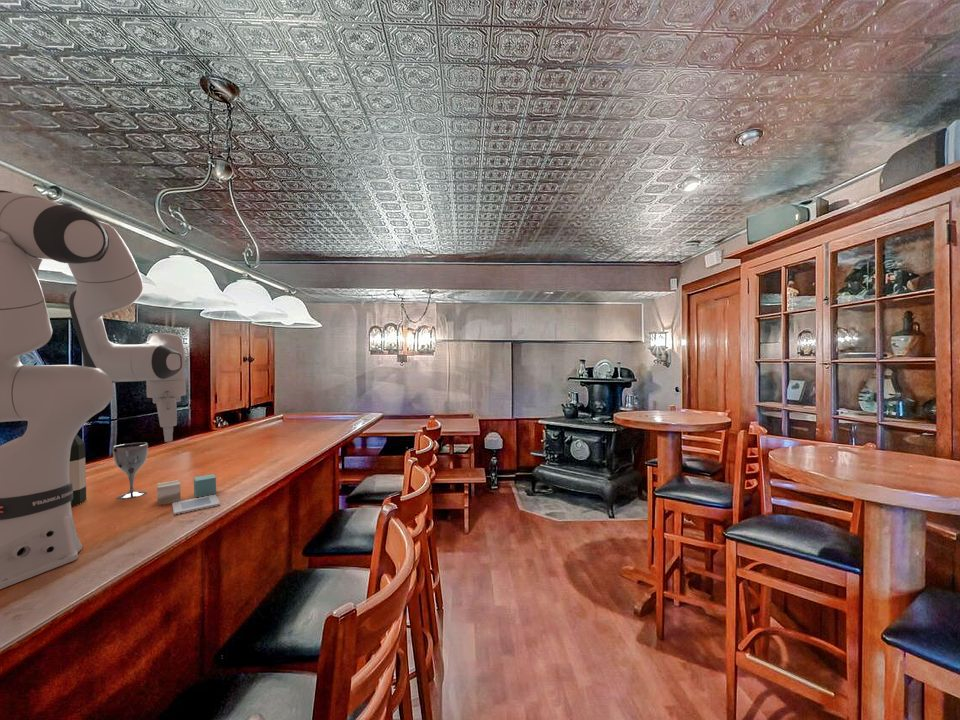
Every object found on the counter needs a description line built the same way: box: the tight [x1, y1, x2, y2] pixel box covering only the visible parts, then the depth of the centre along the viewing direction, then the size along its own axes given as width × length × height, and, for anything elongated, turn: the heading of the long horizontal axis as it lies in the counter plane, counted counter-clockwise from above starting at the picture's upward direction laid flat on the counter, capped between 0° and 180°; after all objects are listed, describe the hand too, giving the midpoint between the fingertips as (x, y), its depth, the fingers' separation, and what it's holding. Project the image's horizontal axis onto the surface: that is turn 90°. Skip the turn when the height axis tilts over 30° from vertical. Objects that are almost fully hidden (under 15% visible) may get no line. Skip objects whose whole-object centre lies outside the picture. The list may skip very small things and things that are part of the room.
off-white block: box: [156, 479, 182, 506], centre depth 114 cm, size 5×5×5 cm
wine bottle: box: [69, 433, 87, 507], centre depth 113 cm, size 8×8×30 cm
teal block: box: [193, 473, 217, 498], centre depth 119 cm, size 5×5×5 cm
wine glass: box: [112, 441, 149, 500], centre depth 119 cm, size 8×8×15 cm
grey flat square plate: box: [171, 493, 221, 516], centre depth 109 cm, size 10×10×1 cm
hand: (168, 438), depth 114 cm, fingers open, 8 cm apart
